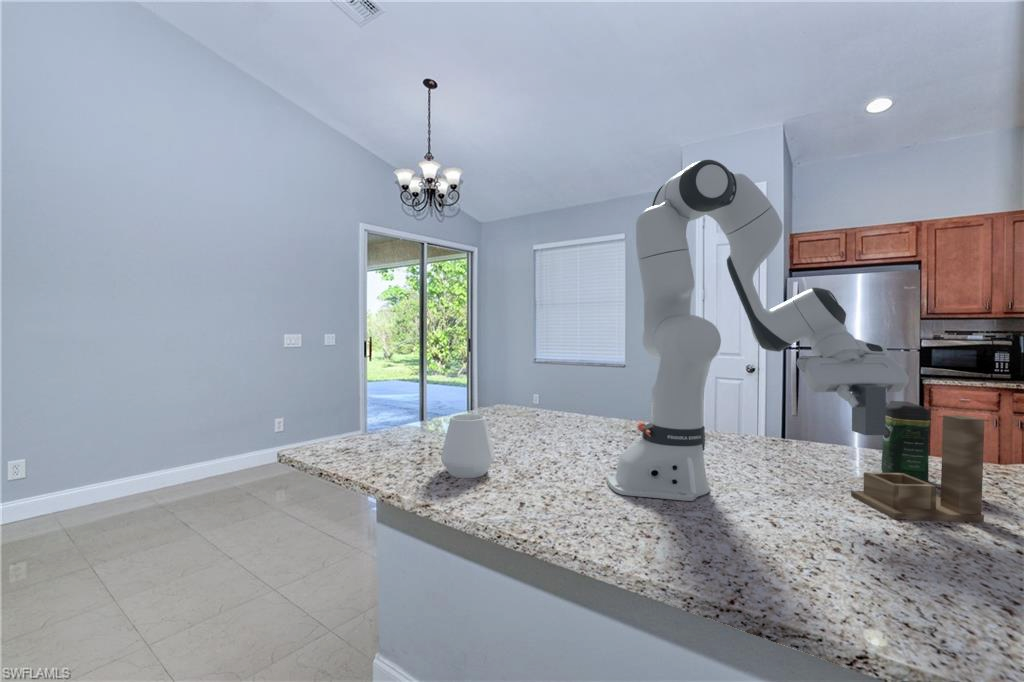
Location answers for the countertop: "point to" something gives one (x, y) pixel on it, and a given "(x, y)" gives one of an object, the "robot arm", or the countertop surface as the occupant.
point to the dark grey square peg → (869, 410)
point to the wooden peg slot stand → (958, 480)
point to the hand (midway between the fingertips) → (871, 405)
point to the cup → (467, 446)
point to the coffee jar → (906, 440)
